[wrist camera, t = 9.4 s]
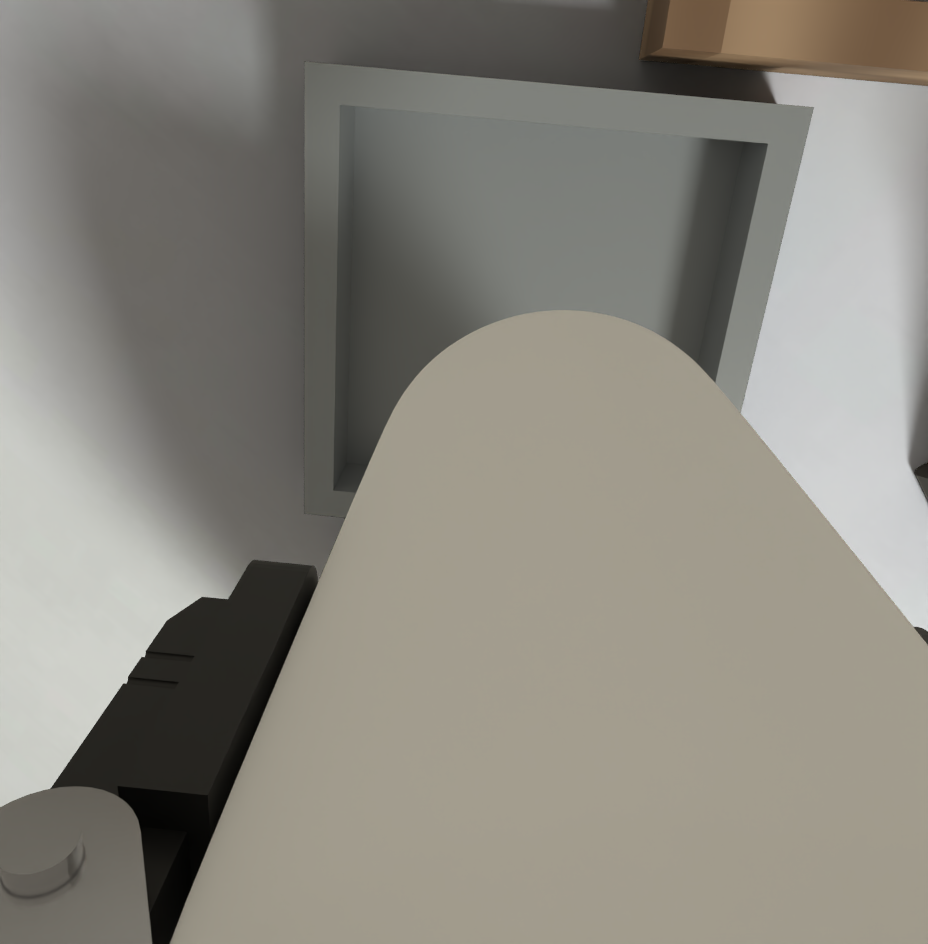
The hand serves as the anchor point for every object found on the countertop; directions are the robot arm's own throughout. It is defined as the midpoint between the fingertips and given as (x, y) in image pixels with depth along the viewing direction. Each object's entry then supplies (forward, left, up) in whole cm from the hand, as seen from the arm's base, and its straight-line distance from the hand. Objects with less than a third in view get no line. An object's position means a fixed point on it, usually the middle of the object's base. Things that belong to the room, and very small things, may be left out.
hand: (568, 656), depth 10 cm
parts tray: (0, 0, -19) cm, 19 cm away
